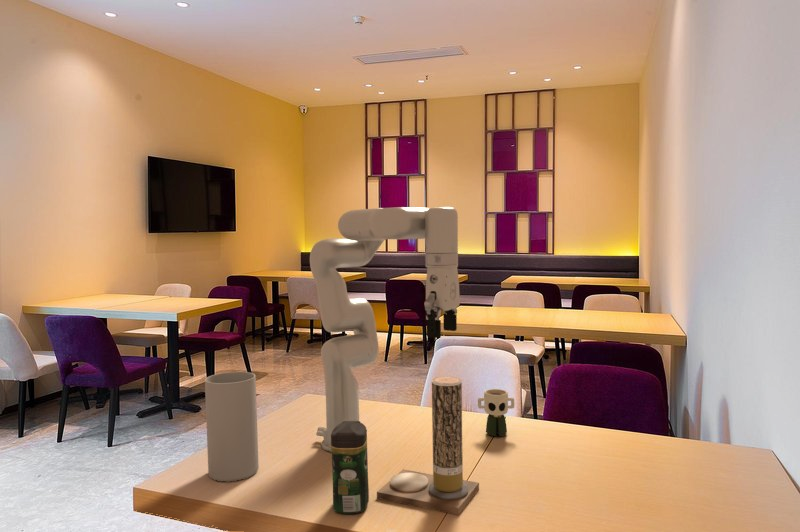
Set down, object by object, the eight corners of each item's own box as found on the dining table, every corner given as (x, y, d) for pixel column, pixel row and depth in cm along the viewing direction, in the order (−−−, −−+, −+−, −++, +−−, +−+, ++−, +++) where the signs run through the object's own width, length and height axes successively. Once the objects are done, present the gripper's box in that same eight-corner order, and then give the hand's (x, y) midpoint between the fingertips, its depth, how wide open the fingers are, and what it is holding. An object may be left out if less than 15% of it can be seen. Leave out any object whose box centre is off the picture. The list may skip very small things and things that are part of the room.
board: (376, 498, 133) (376, 488, 133) (403, 475, 146) (403, 466, 146) (458, 515, 125) (458, 504, 124) (479, 488, 137) (478, 479, 137)
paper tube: (464, 481, 136) (462, 376, 135) (461, 494, 129) (459, 384, 128) (435, 479, 137) (434, 375, 136) (431, 492, 131) (429, 383, 129)
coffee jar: (337, 495, 135) (335, 417, 134) (370, 496, 135) (369, 417, 134) (329, 515, 125) (327, 431, 124) (365, 516, 125) (363, 431, 124)
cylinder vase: (268, 468, 152) (265, 374, 151) (234, 486, 141) (230, 385, 140) (233, 460, 158) (230, 370, 157) (197, 477, 147) (194, 380, 146)
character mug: (479, 438, 171) (478, 395, 170) (477, 430, 178) (477, 388, 178) (516, 438, 170) (515, 395, 170) (513, 430, 178) (512, 388, 177)
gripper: (442, 263, 125) (442, 341, 126) (469, 259, 140) (470, 329, 141) (410, 262, 128) (411, 339, 129) (441, 258, 143) (441, 327, 144)
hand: (442, 333), depth 135 cm, fingers open, 9 cm apart
